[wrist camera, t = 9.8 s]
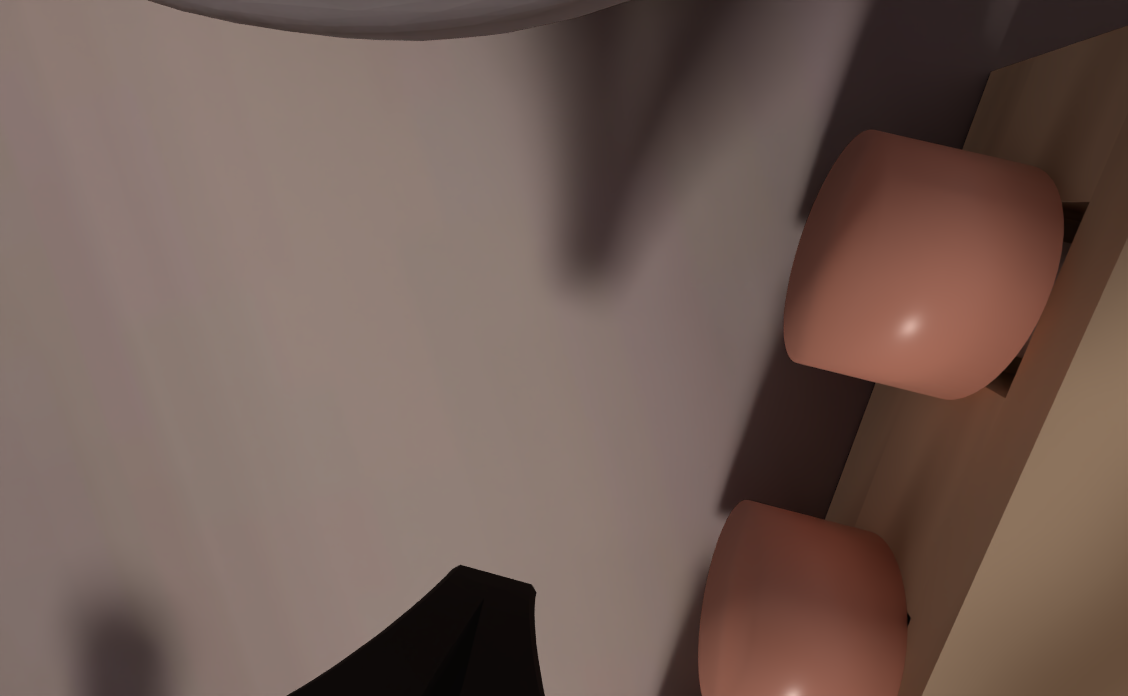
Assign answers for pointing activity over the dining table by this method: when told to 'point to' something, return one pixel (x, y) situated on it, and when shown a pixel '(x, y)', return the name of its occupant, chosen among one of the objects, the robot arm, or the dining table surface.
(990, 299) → the knob
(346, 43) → the dining table surface
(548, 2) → the serving bowl
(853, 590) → the knob
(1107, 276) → the mount
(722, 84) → the dining table surface
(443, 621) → the robot arm
